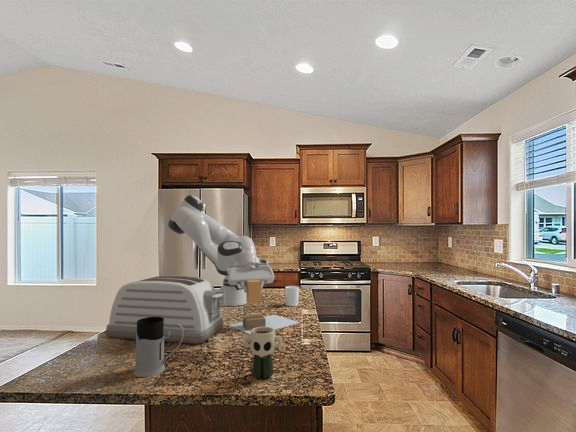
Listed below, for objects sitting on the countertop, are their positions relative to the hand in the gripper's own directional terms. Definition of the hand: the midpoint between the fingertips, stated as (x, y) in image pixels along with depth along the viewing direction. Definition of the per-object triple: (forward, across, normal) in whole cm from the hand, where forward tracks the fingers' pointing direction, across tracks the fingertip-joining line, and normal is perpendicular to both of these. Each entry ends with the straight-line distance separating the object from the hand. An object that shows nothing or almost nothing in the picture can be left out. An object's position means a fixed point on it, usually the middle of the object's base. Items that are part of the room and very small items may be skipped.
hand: (253, 291), depth 137 cm
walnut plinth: (+10, 0, +11) cm, 15 cm away
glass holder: (+32, -36, -9) cm, 49 cm away
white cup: (-14, +31, +37) cm, 50 cm away
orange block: (+3, 0, +4) cm, 5 cm away
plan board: (+9, +6, +14) cm, 17 cm away
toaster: (+6, -34, +17) cm, 38 cm away
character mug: (+42, -7, -19) cm, 46 cm away
